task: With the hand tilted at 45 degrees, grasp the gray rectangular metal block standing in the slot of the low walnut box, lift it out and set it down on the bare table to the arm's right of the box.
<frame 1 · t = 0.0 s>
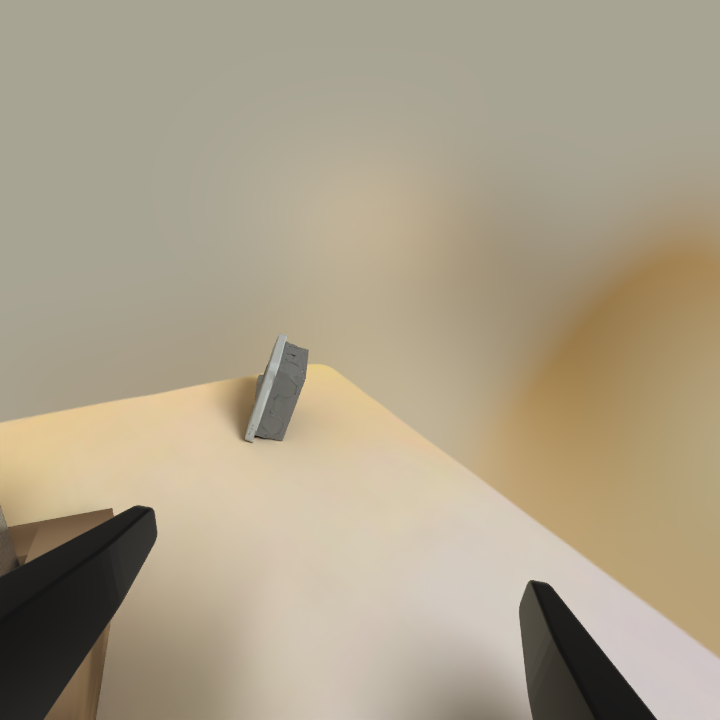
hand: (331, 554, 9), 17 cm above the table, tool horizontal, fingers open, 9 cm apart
electrical switch: (276, 422, 45), on the table
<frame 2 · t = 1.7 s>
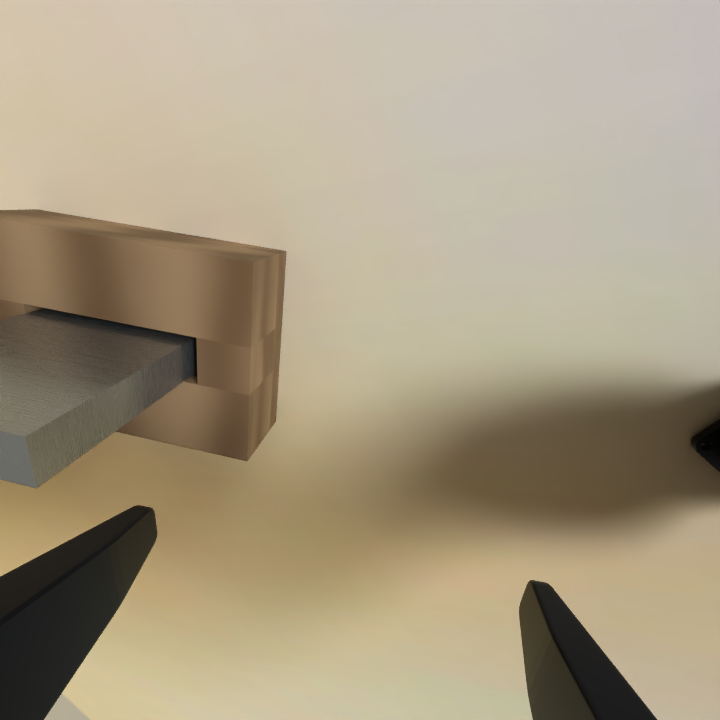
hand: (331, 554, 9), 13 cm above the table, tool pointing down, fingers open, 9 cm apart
gray rectangular metal block: (151, 326, 22), point 1 cm above the table, touching walnut slot box
walnut slot box: (162, 321, 23), on the table
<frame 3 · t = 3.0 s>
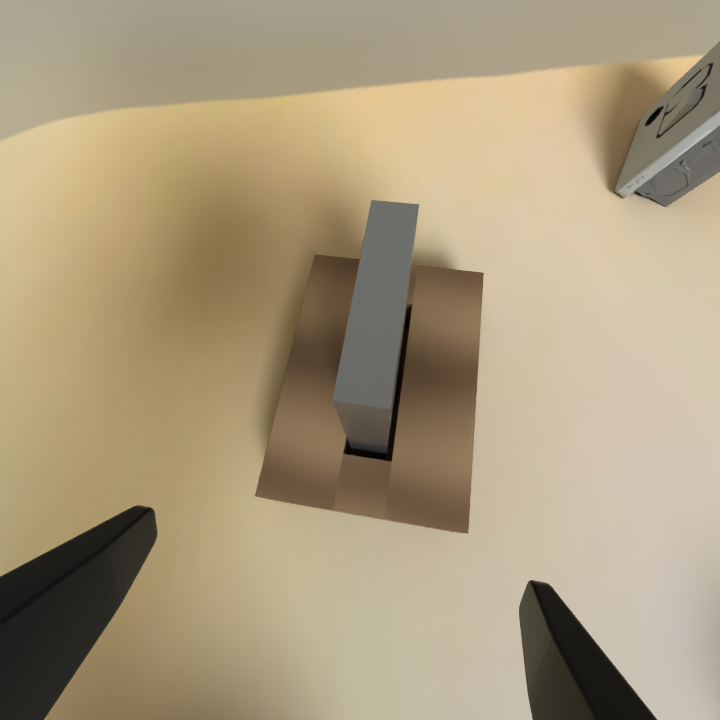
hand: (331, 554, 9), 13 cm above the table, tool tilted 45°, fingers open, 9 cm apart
gray rectangular metal block: (380, 391, 24), point 1 cm above the table, touching walnut slot box
electrical switch: (660, 167, 31), on the table
walnut slot box: (380, 396, 25), on the table
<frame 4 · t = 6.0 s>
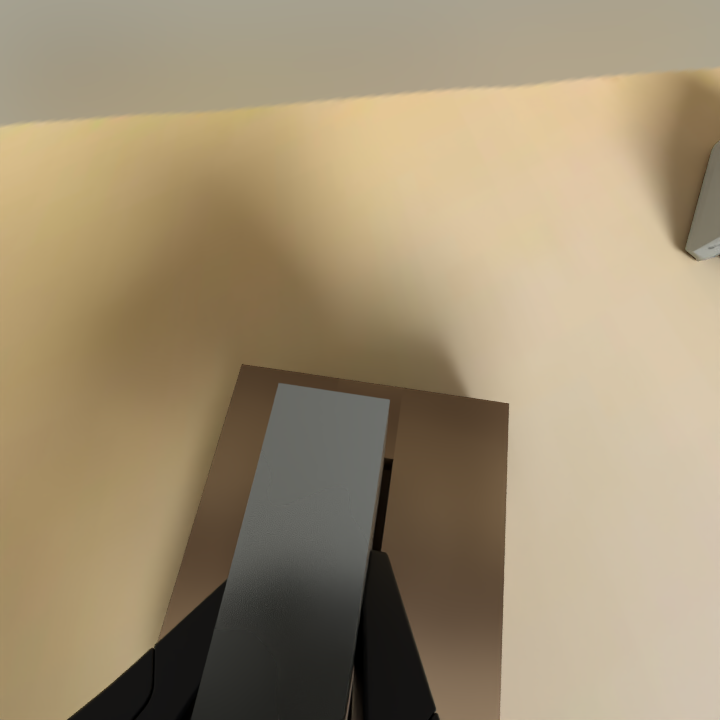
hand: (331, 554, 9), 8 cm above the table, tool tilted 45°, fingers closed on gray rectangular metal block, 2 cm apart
gray rectangular metal block: (342, 584, 15), point 1 cm above the table, touching gripper, walnut slot box
walnut slot box: (344, 581, 16), on the table
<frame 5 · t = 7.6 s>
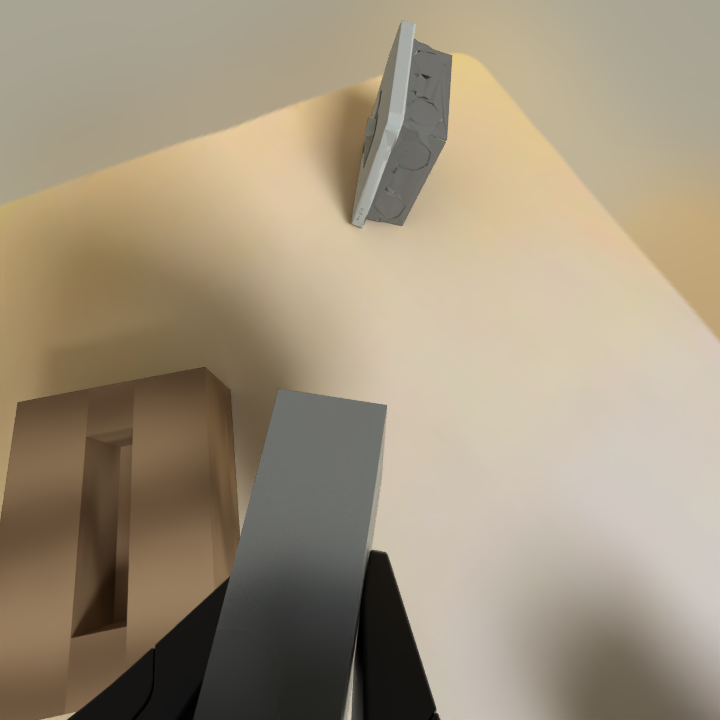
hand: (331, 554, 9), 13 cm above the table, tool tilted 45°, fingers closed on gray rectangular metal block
gray rectangular metal block: (342, 583, 15), point 7 cm above the table, touching gripper
electrical switch: (392, 186, 32), on the table
walnut slot box: (149, 523, 22), on the table
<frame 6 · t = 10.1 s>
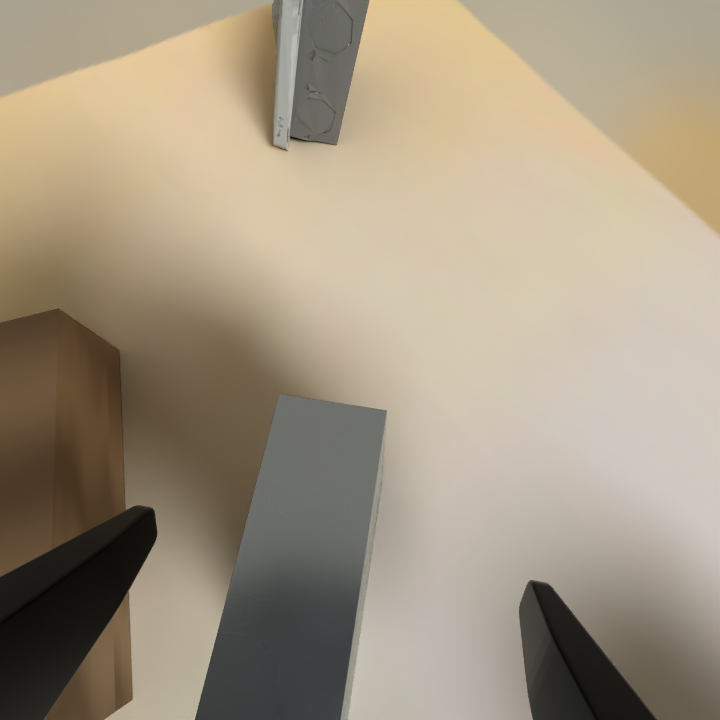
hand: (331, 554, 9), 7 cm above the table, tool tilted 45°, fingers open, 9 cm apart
gray rectangular metal block: (342, 587, 15), on the table
electrical switch: (325, 104, 26), on the table
walnut slot box: (2, 531, 16), on the table
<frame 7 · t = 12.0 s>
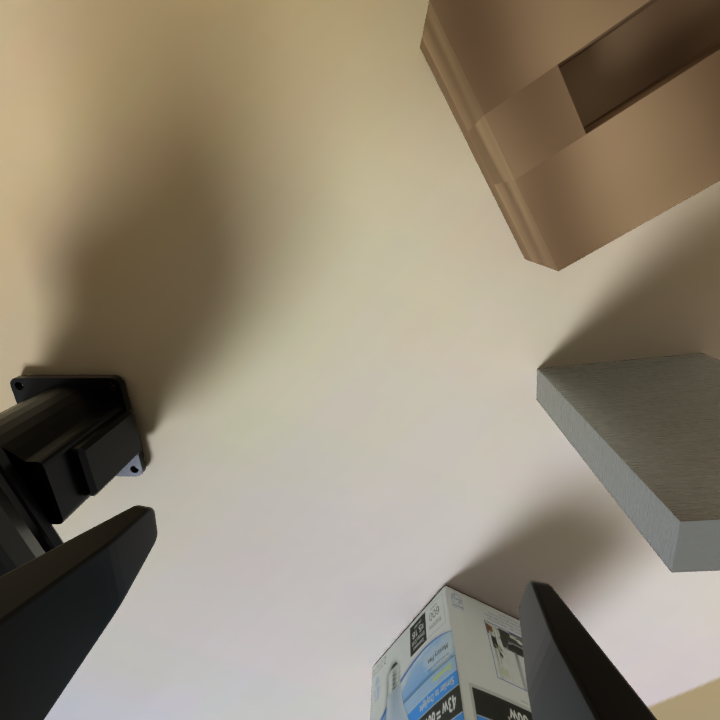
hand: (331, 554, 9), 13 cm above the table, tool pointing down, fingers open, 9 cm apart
gray rectangular metal block: (616, 377, 21), on the table
walnut slot box: (635, 55, 16), on the table
light bulb box: (444, 643, 29), on the table
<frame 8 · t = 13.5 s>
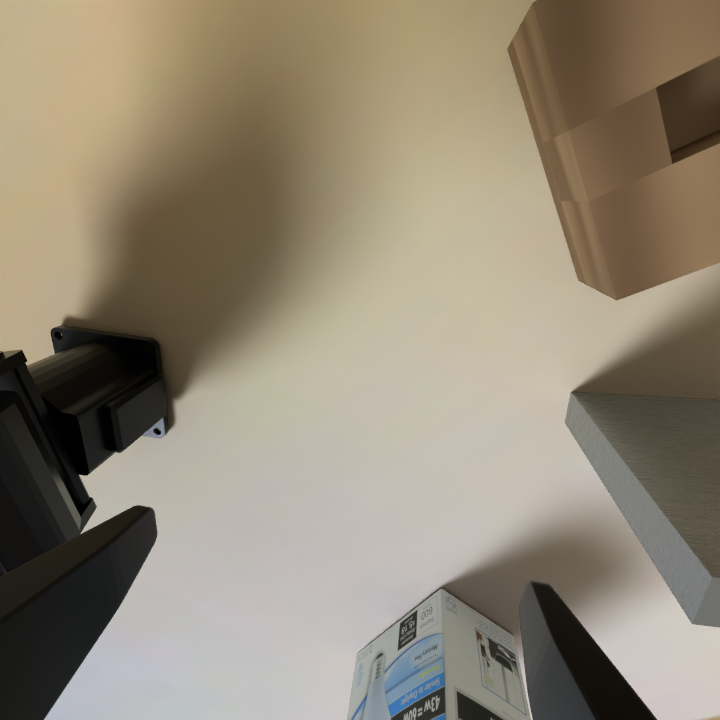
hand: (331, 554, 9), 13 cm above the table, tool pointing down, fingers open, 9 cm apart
gray rectangular metal block: (651, 412, 20), on the table
light bulb box: (430, 642, 29), on the table
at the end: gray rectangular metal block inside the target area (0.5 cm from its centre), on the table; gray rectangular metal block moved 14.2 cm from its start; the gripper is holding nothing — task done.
